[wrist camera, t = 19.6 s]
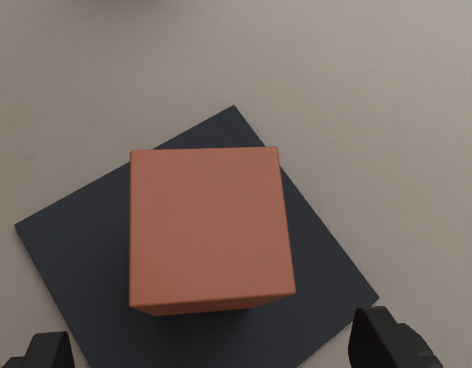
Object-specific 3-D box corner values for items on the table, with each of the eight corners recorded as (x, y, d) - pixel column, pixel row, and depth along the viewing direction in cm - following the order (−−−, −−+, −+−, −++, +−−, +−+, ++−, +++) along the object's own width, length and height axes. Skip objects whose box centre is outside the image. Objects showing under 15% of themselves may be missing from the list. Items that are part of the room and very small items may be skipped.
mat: (376, 298, 22) (380, 298, 21) (155, 480, 18) (154, 484, 17) (233, 108, 25) (234, 104, 24) (17, 227, 21) (13, 224, 20)
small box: (243, 214, 22) (277, 145, 14) (251, 308, 20) (297, 294, 12) (152, 219, 21) (129, 149, 13) (153, 316, 20) (128, 307, 11)
